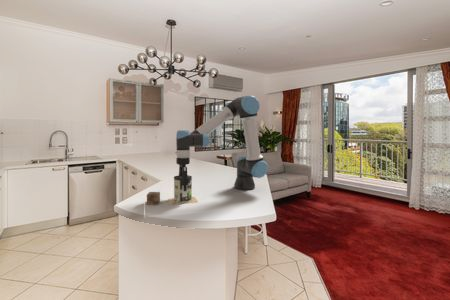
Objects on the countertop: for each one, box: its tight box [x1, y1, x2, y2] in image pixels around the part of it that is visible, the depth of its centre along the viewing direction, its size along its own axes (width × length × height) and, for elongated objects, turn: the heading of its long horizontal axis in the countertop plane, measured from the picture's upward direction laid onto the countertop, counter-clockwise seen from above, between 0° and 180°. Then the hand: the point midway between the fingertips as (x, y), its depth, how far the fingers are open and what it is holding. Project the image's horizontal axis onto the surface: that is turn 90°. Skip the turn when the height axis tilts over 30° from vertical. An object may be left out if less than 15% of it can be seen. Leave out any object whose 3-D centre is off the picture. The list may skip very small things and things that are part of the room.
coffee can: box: [173, 174, 193, 203], centre depth 138 cm, size 10×10×14 cm
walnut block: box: [146, 191, 161, 206], centre depth 132 cm, size 6×6×6 cm
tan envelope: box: [168, 196, 199, 206], centre depth 138 cm, size 16×12×1 cm
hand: (183, 193), depth 137 cm, fingers open, 13 cm apart
